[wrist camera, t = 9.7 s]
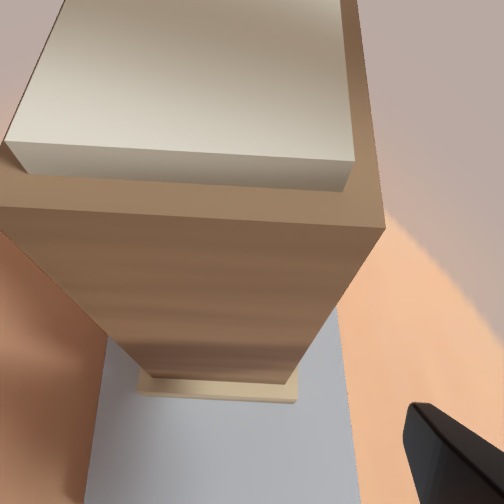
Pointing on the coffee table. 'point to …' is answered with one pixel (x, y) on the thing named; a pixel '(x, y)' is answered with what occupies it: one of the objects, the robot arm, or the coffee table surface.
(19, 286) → the coffee table surface
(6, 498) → the coffee table surface
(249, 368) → the light wood tall block
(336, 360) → the block
